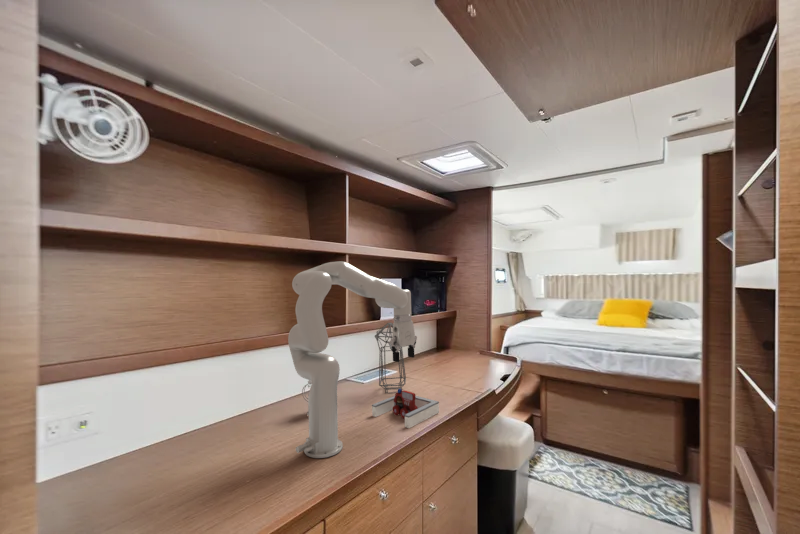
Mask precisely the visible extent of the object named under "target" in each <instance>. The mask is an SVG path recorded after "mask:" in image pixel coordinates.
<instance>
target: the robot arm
mask: <svg viewBox="0 0 800 534" xmlns="http://www.w3.org/2000/svg"><path fill="white" fill-rule="evenodd" d="M291 285H292V289H293V291H294V292H295V293H296V294H297V295H298V297H297V300H296V302H295V303H296V304H295V316H296V318H295V319H296V322H297V323H296V324H295V325H293V326H292V327H291V328H290V331H289V333H288V336H287V339H288V341H287V343H288V347H289V351H290V356H291V358H292V362H293V365H294V369H295V372H296V373H297V375H298V376H299V377H301V378H303V379H306V380H307V381H309V380H311V381H312V384H310V387H309V390H310V391H308V392H309V393H308V394H309V397H307V398H308V399H307V401H308V402H307V403H308V404H309V417H308V437H306V438H305V442H304V443H302V444H300V445H298V446H296V447H295V452H296V453H297V454H299V453H301V452H304V455H306V456H307V457H309V458H313V459H324V458H330V457H333V456H335V455H337V454H339V453H340V452H341V451H342V449H343V444H344V443H343V441H342V440H340V439H339V436H338V435H339V427H338V425H339V423H338V421H339V420H338V419H339V418H338V383H339V377H340V370H341V369H340V364H339V361H338V360H337V359H336V358H335V357H334V356H333V355H330V354H326V353H323V352H324V351H325V350H326V349H327V348H328V345H329V336H328V330H327V327H326V322H325V319H324V314H323V303H324V300H325V298H326V296H327V295H328V293H329V292H330V290H331V288H332V285H338V286H341V287H343V288H345V289H347V290H349V291H351V292H352V293H354V294H356V295H358V296H360V297H364V298H370V299H374V301H375V303H376V304H377V306H378V307H380V308H383V309H393V318H392V319H393V322H392V323H393V328H392V331H391V332H392V333H391V334H392V339H391V338H390V340H388V342H389V343H387V344H388V346H390V347H389V349H390V350H391V351H390V352H392V362H396V363H398V362H399V363H400V351H399V350H400V348H401V347H402V348H405V347H407V357H408V358H415V348H416V344H417V340H418V336H417V335H415V333H416V332H415V326H414V321H413V320H412V293H411V290H409V289H402V288H401V287H399V286H398V285H396V284H394V283H391V282H388V281H386V280H383V279H380V278H377V277H375V276H372V275H369V274H368V273H366V272H364V271H362V270H361V269H359V268H357V267H355V266H354V265H352V264H350V263H349V262H347V261H343V260H341V261H340V260H339V261H330V262H325V263H322V264H321V265H317V266H314V267H312V268H309V269H306V270H303V271H301V272H298V273H297V274H296V275H295V276H294V277H293V279H292V282H291ZM396 347H397V348H396ZM308 404H307V405H308Z"/></svg>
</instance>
